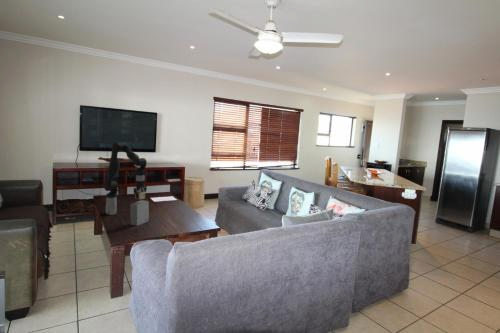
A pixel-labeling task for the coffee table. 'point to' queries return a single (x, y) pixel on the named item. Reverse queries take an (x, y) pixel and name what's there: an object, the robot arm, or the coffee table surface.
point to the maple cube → (140, 195)
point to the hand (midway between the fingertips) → (140, 197)
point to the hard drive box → (139, 212)
